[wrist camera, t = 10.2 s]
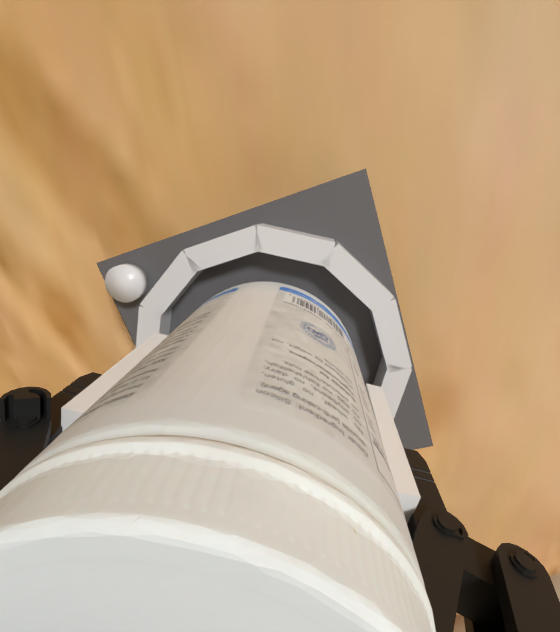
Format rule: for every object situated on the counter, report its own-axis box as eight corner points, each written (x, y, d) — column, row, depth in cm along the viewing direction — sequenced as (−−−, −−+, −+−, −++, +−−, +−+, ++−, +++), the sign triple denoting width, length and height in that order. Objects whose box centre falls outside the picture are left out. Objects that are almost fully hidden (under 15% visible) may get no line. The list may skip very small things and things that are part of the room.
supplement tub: (202, 436, 22) (-5, 862, 8) (168, 286, 19) (-256, 526, 5) (363, 428, 20) (464, 923, 6) (351, 266, 18) (487, 514, 4)
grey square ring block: (132, 253, 23) (78, 267, 18) (356, 175, 20) (370, 165, 15) (219, 450, 27) (196, 509, 22) (415, 408, 24) (441, 463, 19)
